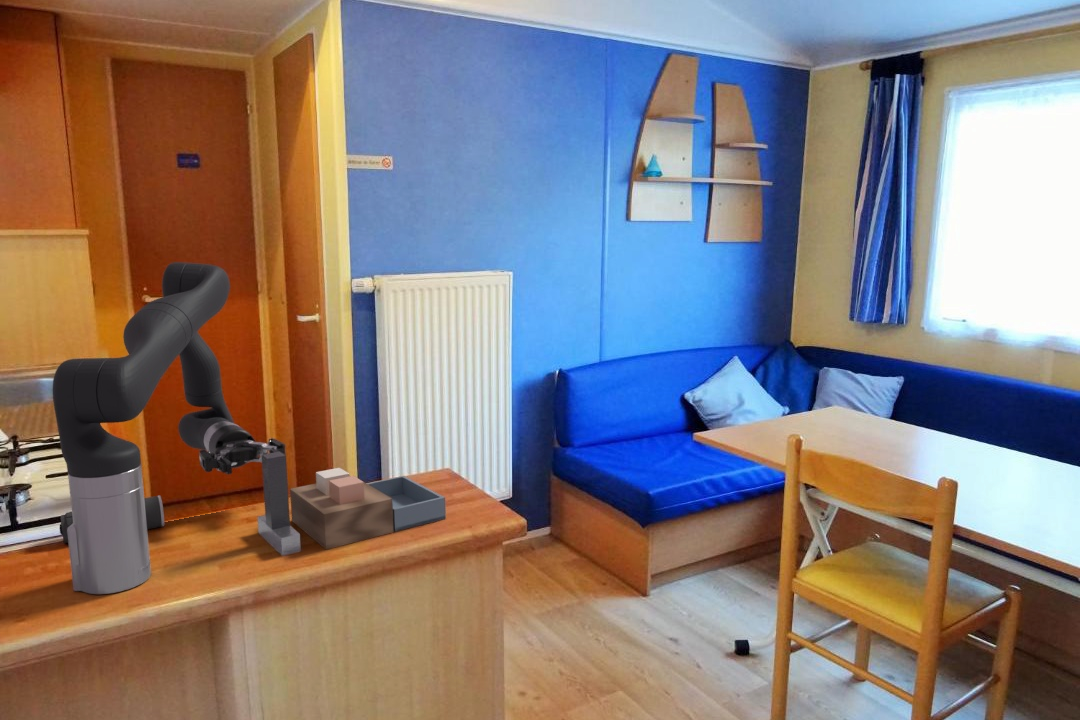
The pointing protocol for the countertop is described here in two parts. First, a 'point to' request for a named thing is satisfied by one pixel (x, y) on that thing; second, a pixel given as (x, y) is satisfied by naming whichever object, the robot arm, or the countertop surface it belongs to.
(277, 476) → the dark grey tall part
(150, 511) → the flashlight
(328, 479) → the white block
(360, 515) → the marbled brown box
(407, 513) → the box
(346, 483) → the pink block
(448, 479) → the countertop surface
